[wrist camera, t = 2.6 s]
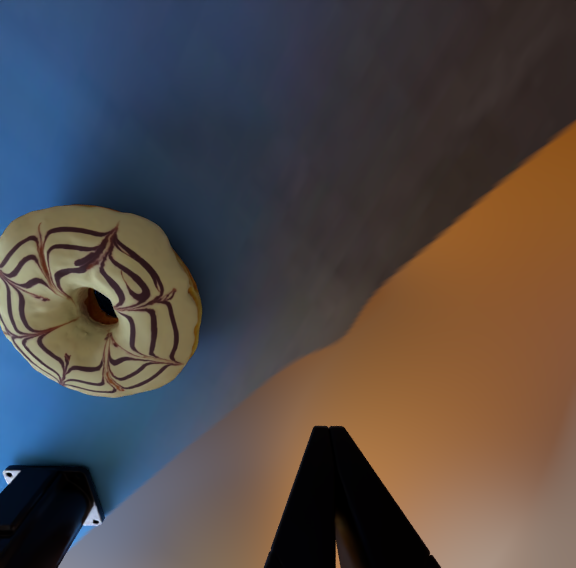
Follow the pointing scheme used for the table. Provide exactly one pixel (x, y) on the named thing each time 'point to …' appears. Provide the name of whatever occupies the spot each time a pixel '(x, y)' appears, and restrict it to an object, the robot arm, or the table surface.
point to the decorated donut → (84, 307)
